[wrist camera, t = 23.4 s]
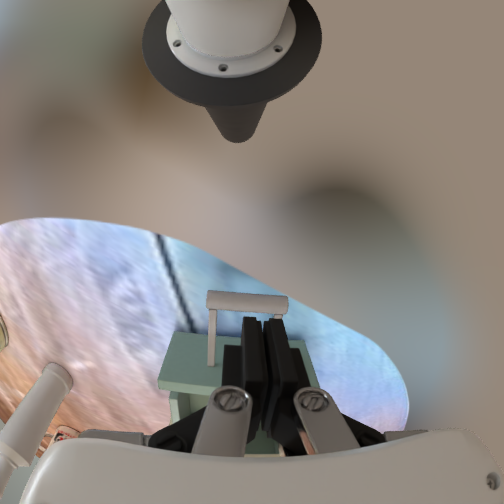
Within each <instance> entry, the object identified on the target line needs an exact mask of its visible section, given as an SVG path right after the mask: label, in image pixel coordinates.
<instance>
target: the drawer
mask: <svg viewBox="0 0 504 504" xmlns="http://www.w3.org/2000/svg"><path fill="white" fill-rule="evenodd" d="M206 308H207V309H209V325H208V335H204V334H194V333H185V332H177V331H174V333H173V336H172V338H171V341H170V344H169V347H168V350H167V353H166V356H165V359H164V361H163V364H162V367H161V370H160V373H159V376H158V379H157V380H158V387H159V389H162V390H169V391H171V392H170V396H169V404H170V410H171V416H172V422H173V423H175V422H177V421H179V420H181V419H183V418H185V417H187V416H189V415H190V414H192V413H194V412H196V411H198V410H200V409H201V408H203V407H205V406H207V403H208V400H209V397H210V395H211V393H212V392H213V391H214V390H215V389H216V388H219V387H221V383H222V368H223V354H224V344H228V345H240V343H241V338H239V337H225V336H216V325H217V310H228V311H240V312H254V313H270V314H274V318H276V319H282V317H283V314H286V313H287V311H288V297H287V296H277V295H262V294H249V293H236V292H224V291H213V290H208V291H207V298H206ZM288 342H289V346H290V348H299V349H300V352H301V355H302V358H303V361H304V365H305V368H306V371H307V374H308V378H309V381H310V384H311V387H317V388H320V386H319V383H318V380H317V377H316V374H315V371H314V368H313V365H312V362H311V359H310V356H309V353H308V350H307V347H306V344H305V341H304V340H288ZM245 454H280V453H279V450H278V442H276V441H275V440H273V439H272V438H267V433H266V431H262V429H261V420H260V425H259V429H258V431H256V436H255V439H254V440H252V441H251V442H250V443H248V444H247V445H246V448H245Z"/></svg>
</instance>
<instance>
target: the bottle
mask: <svg viewBox="0 0 504 504" xmlns="http://www.w3.org/2000/svg"><path fill="white" fill-rule="evenodd" d="M72 383H73V381H72V378H71V376H70V375H69V373H68V372H67V371H66V370H65V369H64V368H62V367H61V366H60V365H58V364H55V363H49V364H48V365H47V366H46V367H45V368H44V369H43V370H42V375H41V376H40V377H39V379H38V380H37V381H36V382H35V384H34V385H33V386H32V388H31V389H30V390H29V392H28V393H27V394H26V396H25V397H24V399H23V400H22V401H21V403H20V404H19V406H18V407H17V408H16V410H15V411H14V413H13V414H12V416H11V417H10V419H9V420H8V422H7V423H6V425H5V426H4V428H3V429H2V431H1V432H0V457H1V459H0V500H1V498H2V496H3V492H4V489H5V487H6V485H7V483H8V480H9V478H10V476H11V474H12V472H13V470H14V469H17V468H18V467H19V466H20V467H21V466H30V465H31V463H32V461H33V459H34V456H35V454H36V452H37V450H38V448H39V446H40V443H41V441H42V439H43V437H44V435H45V433H46V431H47V429H48V427H49V425H50V423H51V421H52V419H53V417H54V416H55V414H56V412H57V410H58V408H59V406H60V404H61V403H62V401H63V399H64V397H65V395H67V394H68V393H69V392H70V390H71V388H72Z"/></svg>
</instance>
